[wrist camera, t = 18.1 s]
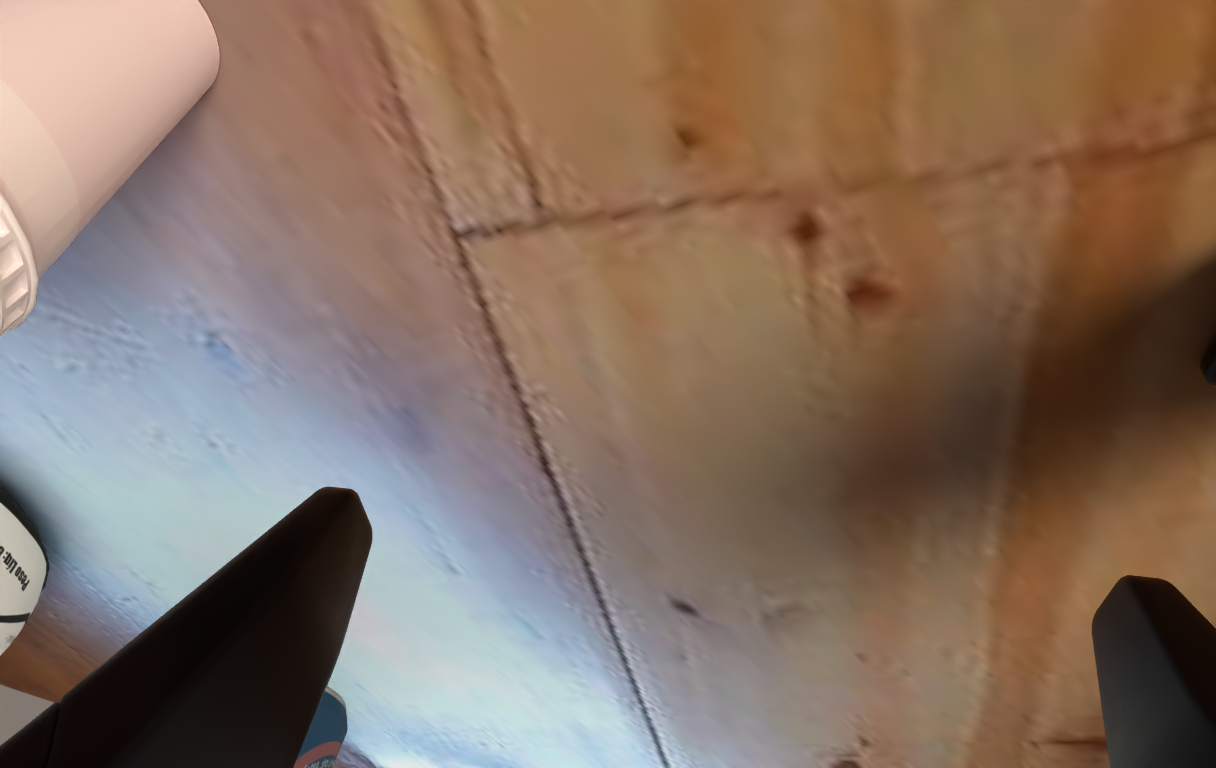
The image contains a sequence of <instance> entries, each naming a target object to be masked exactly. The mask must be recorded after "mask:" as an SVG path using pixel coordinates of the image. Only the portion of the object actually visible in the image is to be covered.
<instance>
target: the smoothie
mask: <svg viewBox="0 0 1216 768" xmlns="http://www.w3.org/2000/svg"><path fill="white" fill-rule="evenodd" d="M219 62H220V55H219V46H218V42H217V38H216V34H215V31H214V29H213V26H212V24H211V22H210V20H209V18H208V16H207V14H206V12H205V10H204V9H203V7H202V6H201V4H200V3H199V1H198V0H0V337H1V336H2V335H4V334H5V333H6V332H7V331H9V330H12V329H14V328H16V327H19V326H20V325H21V324H22V323H23V322H24V320H25V319H26V318H27V316H28V315H29V314H30V312H31V311H32V310H33V308H34V307H35V305H36V297H37V289H38V281H39V277H40V276H41V275H42V274H43V273H44V272H45V271H46V270H47V269H48V268H49V267H50V266H51V265H52V264H53V262H54V261H55V260H56V259H57V258H58V257H59V256H60V255H61V254H62V253H63V252H64V251H65V250H66V249H67V247H68V246H69V245H70V244H71V243H72V241H73V240H74V239H75V237H76V236H77V235H78V234H79V233H80V232H81V231H82V230H83V228H84V227H85V226H86V225H87V224H88V223H89V222H90V221H91V220H92V218H93V217H94V216H95V215H96V214H97V213H98V212H99V211H100V210H101V208H102V207H103V206H104V205H105V204H106V203H107V202H108V201H109V199H110V198H111V197H112V196H113V195H114V194H115V193H116V192H117V191H118V189H119V188H120V187H121V186H122V185H123V184H124V183H125V182H126V181H127V179H128V178H129V177H130V176H131V175H132V174H133V173H134V172H135V170H136V169H137V168H138V167H139V166H140V165H141V164H142V163H143V162H144V160H145V159H146V158H147V157H148V156H149V155H150V154H151V153H152V152H153V150H154V149H155V148H156V147H157V146H158V145H159V144H160V143H161V141H162V140H163V139H164V138H165V137H166V136H167V135H168V134H169V133H170V131H171V130H172V129H173V128H174V127H175V126H176V125H177V124H178V122H179V121H180V120H181V119H182V118H183V117H184V116H185V115H186V114H187V112H188V111H189V110H190V109H191V108H192V107H193V106H194V105H195V104H196V102H197V101H198V100H199V99H200V98H201V97H202V96H203V95H204V93H205V92H206V91H207V90H208V89H209V88H210V87H211V86H212V84H213V83H214V81H215V79H216V77H217V74H218V70H219Z"/></svg>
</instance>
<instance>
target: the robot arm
mask: <svg viewBox="0 0 1216 768" xmlns="http://www.w3.org/2000/svg"><path fill="white" fill-rule="evenodd" d="M1200 370H1201V372H1202V374H1203V376H1204V377H1205V379H1206V381H1207V382H1209V383H1210V384H1212V385H1216V339H1215V341H1214V342H1213V344H1212V345H1211V347H1210V348H1209V350H1208V352H1207V353H1206V355H1205V356H1204V358H1203V359H1202V361H1201V364H1200ZM371 544H372V527H371V524H370V522H369V520H368V517H367V515H366V512H365V510H364V508H363V505H362V503H361V500H360V498H359V496H358V494H357V493H356V492H355V491H354V490H352V489H346V488H337V487H324V488H321V489H319V490H318V491H316V492H315V493H314V494H312V495H311V496H310V497H309V498H308V499H306V500H305V501H304V502H303V503H301V504H300V505H299V506H298V507H296V508H295V509H294V510H293V511H291V512H290V513H289V514H288V515H286V516H285V517H284V518H283V519H282V520H280V521H279V522H278V523H277V524H275V525H274V526H273V527H272V528H270V529H269V530H268V531H267V532H265V533H264V534H263V535H262V536H260V537H259V538H258V539H257V540H256V541H254V542H253V543H252V544H251V545H249V546H248V547H247V548H246V549H244V550H243V551H242V552H241V553H239V554H238V555H237V556H236V557H234V558H233V559H232V560H231V561H230V562H228V563H227V564H226V565H225V566H223V567H222V568H221V569H220V570H218V571H217V572H216V573H215V574H213V575H212V576H211V577H210V578H208V579H207V580H206V581H205V582H204V583H202V584H201V585H200V586H199V587H197V588H196V589H195V590H194V591H192V592H191V593H190V594H189V595H187V596H186V597H185V598H184V599H182V600H181V601H180V602H179V603H178V604H176V605H175V606H174V607H173V608H171V609H170V610H169V611H168V612H166V613H165V614H164V615H163V616H161V617H160V618H159V619H158V620H156V621H155V622H154V623H153V624H152V625H150V626H149V627H148V628H147V629H145V630H144V631H143V632H142V633H140V634H139V635H138V636H137V637H135V638H134V639H133V640H132V641H130V642H129V643H128V644H127V645H126V646H124V647H123V648H122V649H121V650H119V651H118V652H117V653H116V654H114V655H113V656H112V657H111V658H109V659H108V660H107V661H106V662H104V663H103V664H102V665H101V666H100V667H98V668H97V669H96V670H95V671H93V672H92V673H91V674H90V675H88V676H87V677H86V678H85V679H83V680H82V681H81V682H80V683H79V684H77V685H76V686H75V687H74V688H72V689H71V690H70V691H69V692H67V693H66V694H65V695H64V696H63V697H62V699H61V702H55V703H53V704H52V705H51V706H50V707H49V708H47V709H46V710H45V711H43V712H42V713H41V714H40V715H39V716H37V717H36V718H35V719H34V720H32V721H31V722H30V723H29V724H27V725H26V726H25V727H24V728H22V729H21V730H20V731H19V732H17V733H16V734H15V735H13V736H12V737H11V738H10V739H8V740H7V741H6V742H5V743H3V744H2V745H1V746H0V768H293V767H294V765H295V762H296V760H297V757H298V755H299V753H300V750H301V748H302V745H303V743H304V740H305V738H306V735H307V733H308V731H309V728H310V726H311V723H312V721H313V718H314V716H315V714H316V711H317V709H318V706H319V704H320V701H321V699H322V696H323V694H324V692H325V689H326V687H327V684H328V682H329V679H330V677H331V674H332V672H333V669H334V667H335V664H336V662H337V659H338V656H339V654H340V650H341V647H342V644H343V641H344V638H345V635H346V631H347V628H348V624H349V621H350V617H351V614H352V610H353V607H354V603H355V600H356V596H357V593H358V589H359V586H360V583H361V579H362V576H363V572H364V569H365V565H366V562H367V558H368V555H369V551H370V548H371ZM1092 638H1093V645H1094V653H1095V660H1096V668H1097V675H1098V683H1099V690H1100V697H1101V705H1102V712H1103V720H1104V727H1105V735H1106V742H1107V749H1108V755H1109V761H1110V767H1111V768H1216V629H1215V627H1214V626H1213V625H1212V624H1211V623H1210V622H1209V621H1208V620H1207V619H1206V618H1205V617H1204V616H1203V615H1202V614H1201V613H1200V612H1199V611H1198V610H1197V609H1196V608H1195V607H1194V606H1193V605H1192V604H1191V603H1190V602H1189V601H1188V600H1187V599H1186V598H1185V597H1184V595H1183V594H1182V593H1181V592H1180V591H1179V590H1178V589H1177V588H1176V587H1175V586H1173V585H1172V584H1171V583H1169V582H1167V581H1165V580H1163V579H1159V578H1150V577H1141V576H1132V575H1127V576H1125V577H1122V578H1120V579H1119V581H1118V582H1117V583H1116V584H1115V586H1114V587H1113V589H1112V590H1111V591H1110V593H1109V594H1108V596H1107V597H1106V598H1105V600H1104V601H1103V602H1102V604H1101V605H1100V607H1099V608H1098V609H1097V611H1096V613H1095V615H1094V618H1093V622H1092Z"/></svg>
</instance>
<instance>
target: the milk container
mask: <svg viewBox="0 0 1216 768" xmlns="http://www.w3.org/2000/svg"><path fill="white" fill-rule="evenodd" d="M48 572H49V562H48V558H47V554H46V551H45V548H44V546H43V543H42V541H41V538H40V535H39V533H38V530H37V528H36V527H35V526H34V525H33V523H32V522H31V521H30V520H29V519H28V518H27V517H26V515H25V514H24V513H23V512H22V511H21V509H20V508H19V506H18V505H17V504H16V503H15V501H14V500H13V499H12V498H11V497H10V496H9V495H8V494H7V493H6V492H4V491H3V490H2V489H1V488H0V655H1V654H2V653H3V652H4V651H5V650H6V649H7V648H8V647H9V646H10V644H11V643H12V642H13V640H14V639H15V638H16V637H17V635H18V634H19V633H20V631H21V630H22V628H23V626H24V625H25V623H26V622H27V620H28V619H29V617H30V615H31V613H32V611H33V610H34V608H35V606H36V604H37V602H38V600H39V598H40V596H41V594H42V592H43V590H44V588H45V586H46V581H47V576H48Z"/></svg>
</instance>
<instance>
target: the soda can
mask: <svg viewBox="0 0 1216 768" xmlns="http://www.w3.org/2000/svg"><path fill="white" fill-rule="evenodd" d="M346 733H347V716H346V708H345V703H344V701H343V699H342V698H341V697H340V696H339V695H338V694H337V693H335V692H334V691H333V690H331V689H330V688H328V687H326V689H325V692H324V694H323V696H322V699H321V701H320V704H319V706H318V709H317V711H316V714H315V716H314V718H313V721H312V723H311V726H310V728H309V731H308V733H307V735H306V738H305V740H304V743H303V745H302V748H301V750H300V753H299V755H298V757H297V760H296V762H295V765H294V767H293V768H332V767H333V764H334V762H335V759H336V757H337V755H338V752H339V750H340V747H341V745H342V743H343V740H344V738H345V735H346Z"/></svg>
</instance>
